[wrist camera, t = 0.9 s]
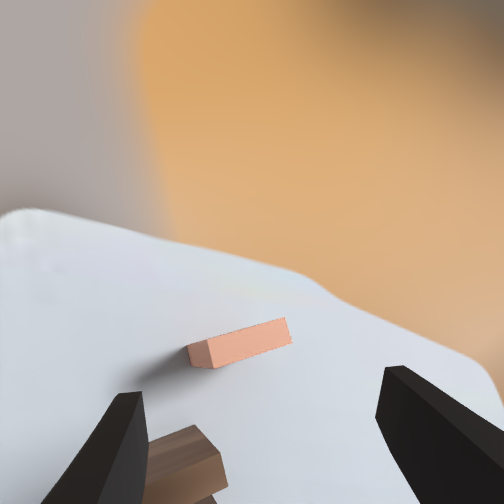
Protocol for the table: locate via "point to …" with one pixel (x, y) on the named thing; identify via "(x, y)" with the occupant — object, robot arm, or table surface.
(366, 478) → the table surface
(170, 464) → the walnut domino
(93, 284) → the table surface
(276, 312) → the table surface
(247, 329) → the terracotta domino
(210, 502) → the walnut domino
